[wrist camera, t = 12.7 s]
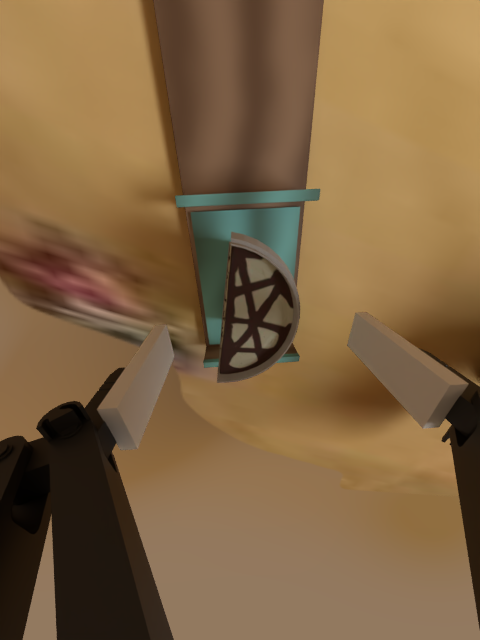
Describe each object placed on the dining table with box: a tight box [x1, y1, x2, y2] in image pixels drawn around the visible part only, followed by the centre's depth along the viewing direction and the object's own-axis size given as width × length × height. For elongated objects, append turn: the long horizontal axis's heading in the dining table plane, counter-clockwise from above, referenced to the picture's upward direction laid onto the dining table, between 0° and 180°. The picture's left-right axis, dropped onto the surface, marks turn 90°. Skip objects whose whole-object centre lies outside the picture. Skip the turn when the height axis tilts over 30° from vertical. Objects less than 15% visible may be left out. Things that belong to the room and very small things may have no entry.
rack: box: [153, 0, 324, 368], centre depth 18 cm, size 12×36×5 cm, turn 3°
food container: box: [217, 232, 300, 383], centre depth 19 cm, size 12×6×10 cm, turn 173°
